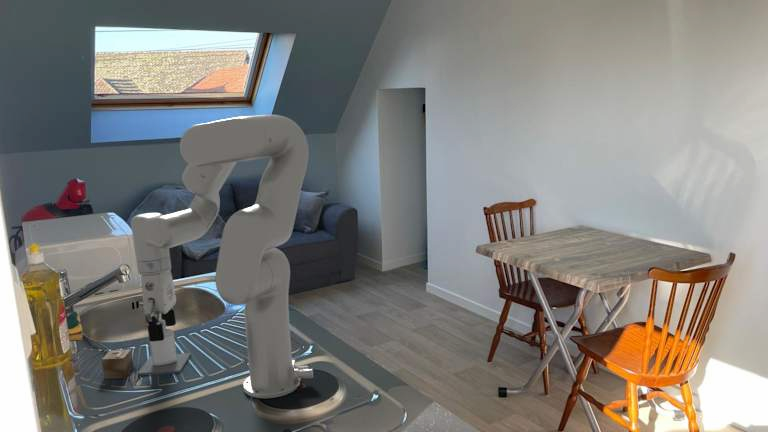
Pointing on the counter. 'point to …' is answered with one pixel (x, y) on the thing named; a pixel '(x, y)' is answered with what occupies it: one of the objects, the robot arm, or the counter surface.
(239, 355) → the counter surface
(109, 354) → the walnut cube
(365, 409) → the counter surface
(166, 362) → the eye dropper bottle
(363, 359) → the counter surface
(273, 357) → the robot arm
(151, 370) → the slate mat
